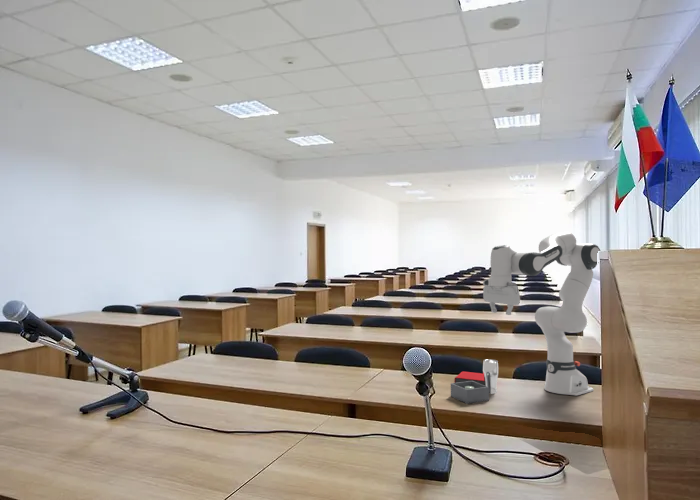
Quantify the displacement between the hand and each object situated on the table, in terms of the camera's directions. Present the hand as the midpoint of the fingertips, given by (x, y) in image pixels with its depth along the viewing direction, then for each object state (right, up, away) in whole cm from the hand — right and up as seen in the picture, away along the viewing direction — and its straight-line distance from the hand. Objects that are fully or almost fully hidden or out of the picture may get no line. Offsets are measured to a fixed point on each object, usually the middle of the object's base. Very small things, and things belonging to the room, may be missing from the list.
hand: (501, 313), depth 210 cm
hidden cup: (-12, -39, +6) cm, 41 cm away
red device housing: (-4, -40, +28) cm, 49 cm away
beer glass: (0, -40, +15) cm, 42 cm away
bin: (-12, -39, +6) cm, 42 cm away
